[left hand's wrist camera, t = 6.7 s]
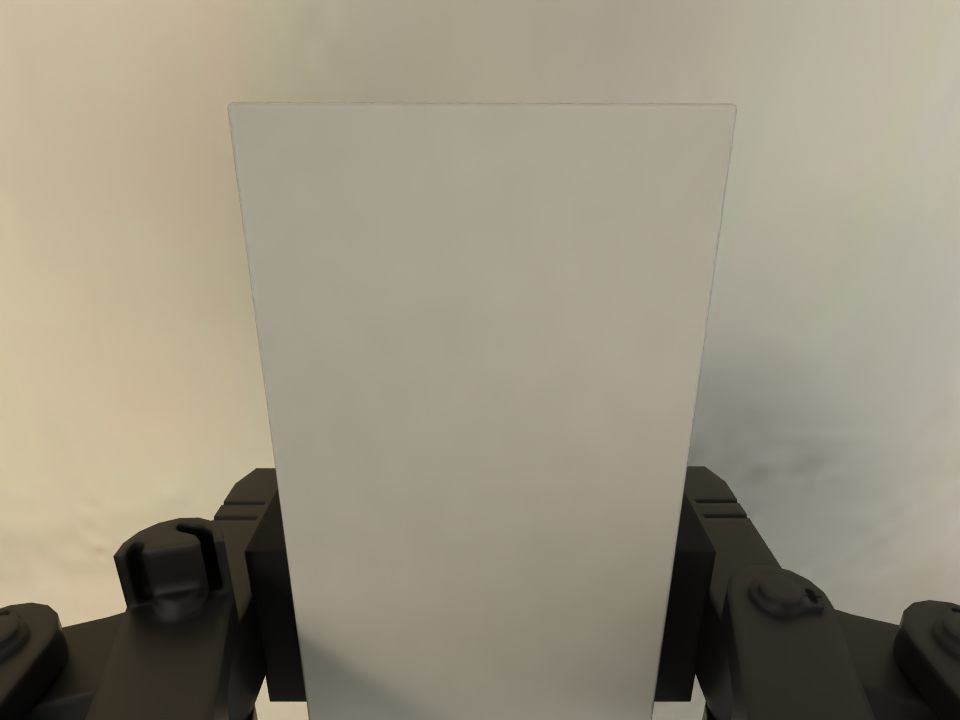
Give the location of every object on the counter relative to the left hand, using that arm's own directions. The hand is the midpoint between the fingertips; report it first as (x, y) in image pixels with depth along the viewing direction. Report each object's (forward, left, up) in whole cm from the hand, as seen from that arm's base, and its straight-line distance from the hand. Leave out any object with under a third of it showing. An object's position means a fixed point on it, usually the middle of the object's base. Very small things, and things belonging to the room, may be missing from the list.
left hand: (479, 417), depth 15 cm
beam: (+21, -15, -1) cm, 25 cm away
